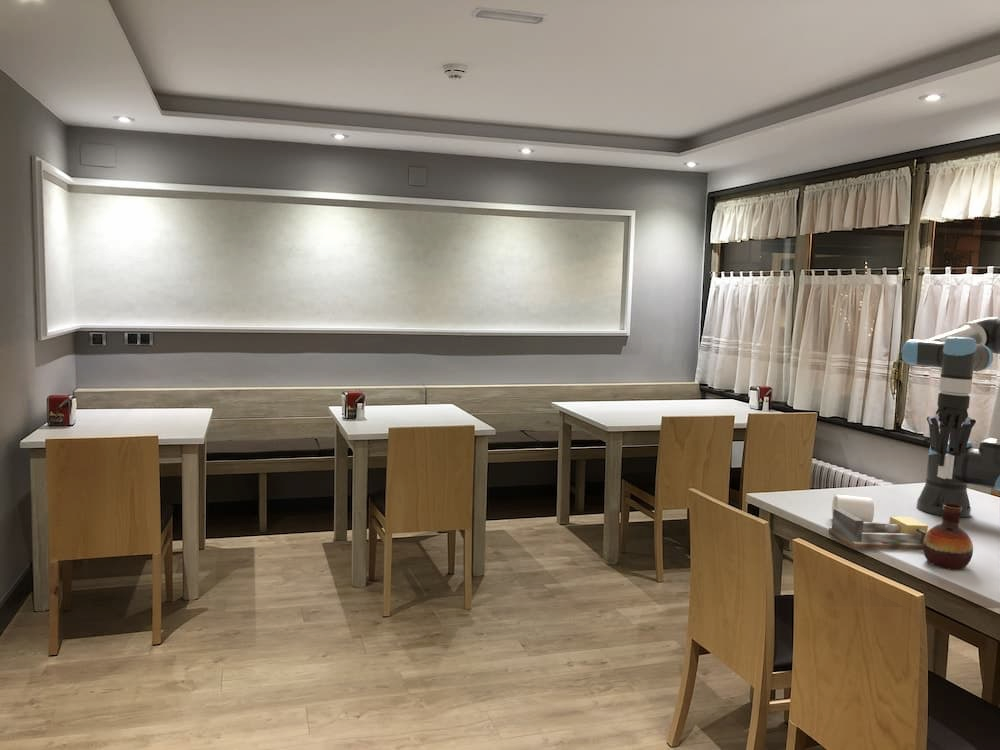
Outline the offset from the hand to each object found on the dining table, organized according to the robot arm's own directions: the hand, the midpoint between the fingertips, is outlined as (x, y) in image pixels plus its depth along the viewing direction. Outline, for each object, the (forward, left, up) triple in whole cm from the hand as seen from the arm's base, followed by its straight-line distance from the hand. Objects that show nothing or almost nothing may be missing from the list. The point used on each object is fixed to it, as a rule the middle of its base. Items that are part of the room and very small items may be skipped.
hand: (944, 477), depth 215 cm
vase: (+10, +18, -19) cm, 28 cm away
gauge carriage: (+10, +2, -17) cm, 20 cm away
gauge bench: (+16, 0, -18) cm, 24 cm away
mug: (+15, -19, -19) cm, 31 cm away
